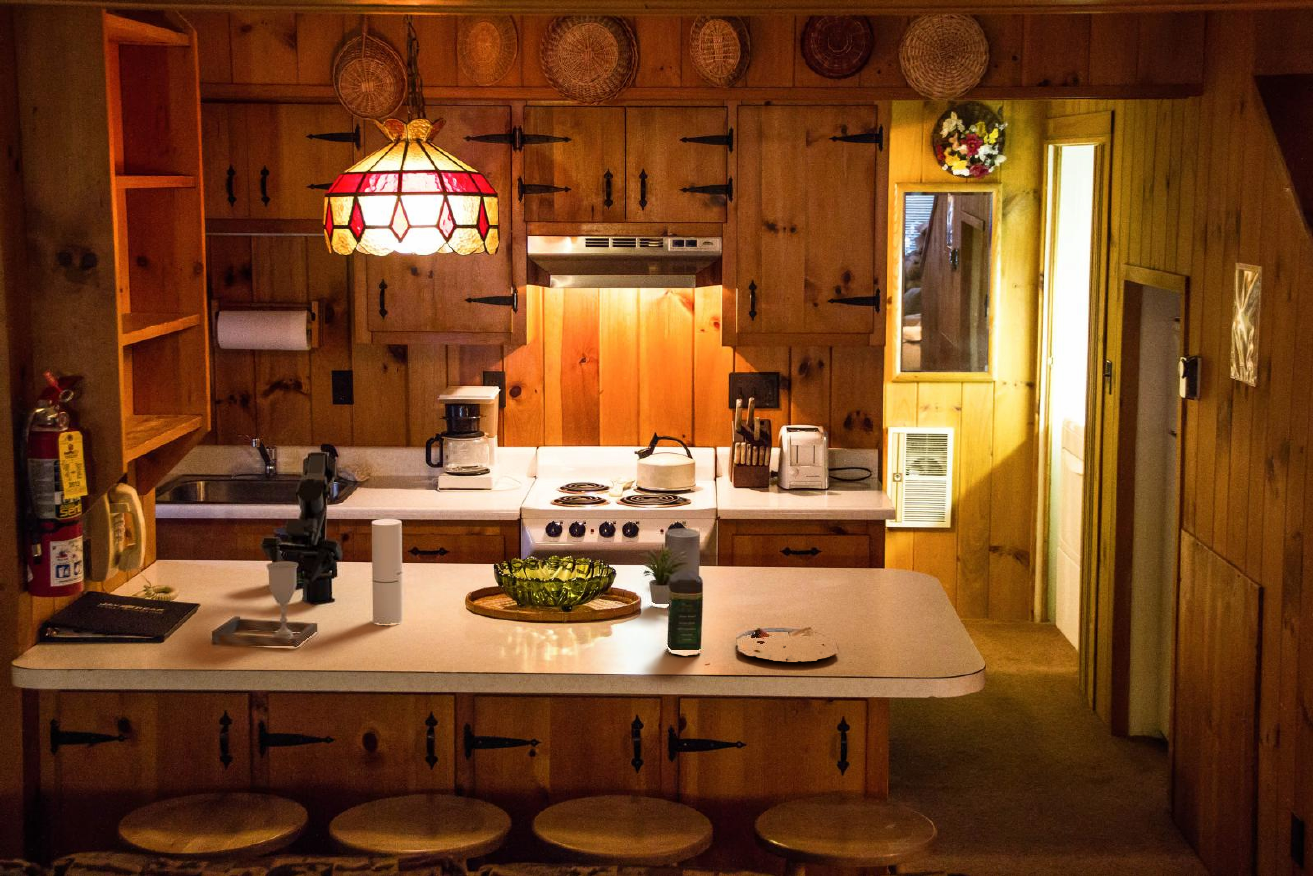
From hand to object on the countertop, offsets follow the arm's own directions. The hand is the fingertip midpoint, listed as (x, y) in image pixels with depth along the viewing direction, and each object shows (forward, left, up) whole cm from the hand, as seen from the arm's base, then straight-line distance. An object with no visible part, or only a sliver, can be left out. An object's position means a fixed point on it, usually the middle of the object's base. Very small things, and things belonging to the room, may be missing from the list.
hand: (293, 579), depth 345 cm
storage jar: (-17, -41, -13) cm, 46 cm away
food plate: (-88, +76, -13) cm, 117 cm away
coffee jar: (-68, +63, -13) cm, 94 cm away
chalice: (+4, +4, -13) cm, 15 cm away
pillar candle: (-107, +12, -13) cm, 109 cm away
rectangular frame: (+8, +1, -13) cm, 15 cm away
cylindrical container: (-22, +4, -13) cm, 26 cm away
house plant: (-86, +30, -13) cm, 92 cm away
